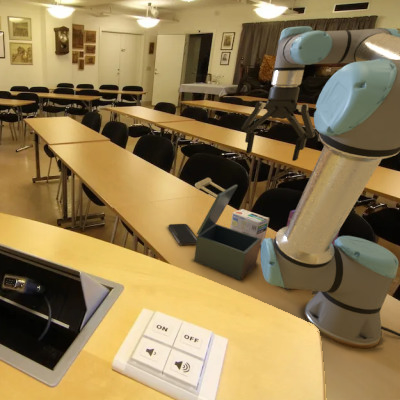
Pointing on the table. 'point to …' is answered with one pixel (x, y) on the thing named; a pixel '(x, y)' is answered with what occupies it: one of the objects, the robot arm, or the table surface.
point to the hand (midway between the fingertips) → (270, 156)
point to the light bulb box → (249, 223)
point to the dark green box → (227, 250)
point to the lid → (218, 204)
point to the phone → (183, 234)
